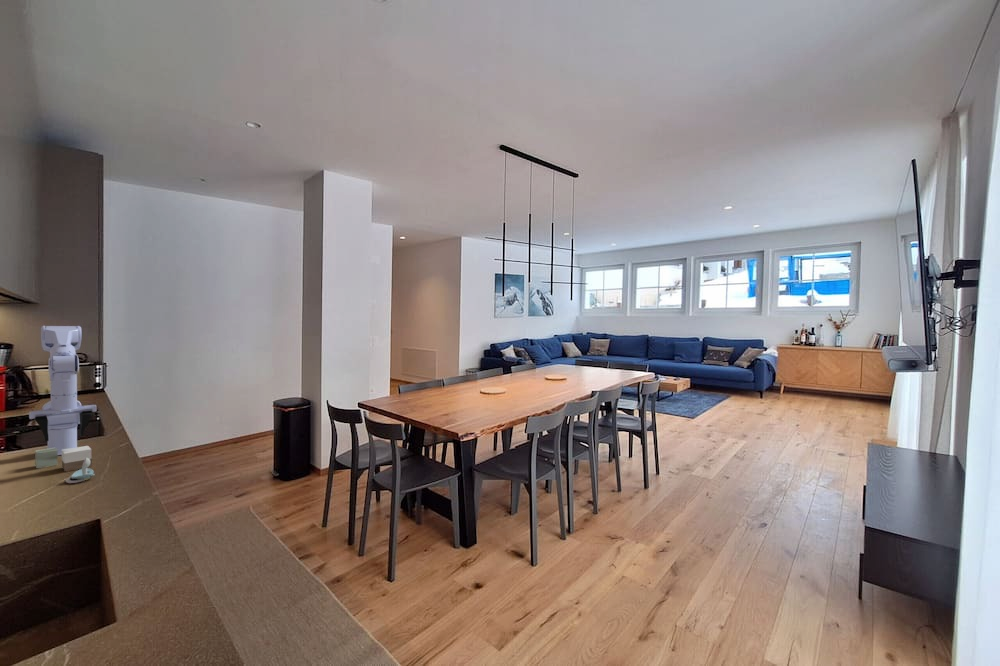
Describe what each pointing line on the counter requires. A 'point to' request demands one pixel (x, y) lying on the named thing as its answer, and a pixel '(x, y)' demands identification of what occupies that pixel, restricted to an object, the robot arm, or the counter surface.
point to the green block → (46, 457)
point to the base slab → (74, 465)
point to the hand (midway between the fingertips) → (64, 437)
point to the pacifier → (82, 473)
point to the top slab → (76, 454)
